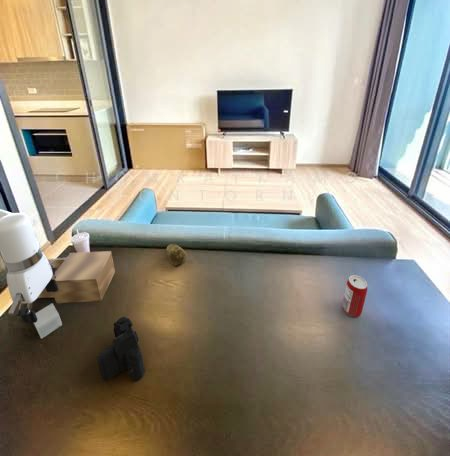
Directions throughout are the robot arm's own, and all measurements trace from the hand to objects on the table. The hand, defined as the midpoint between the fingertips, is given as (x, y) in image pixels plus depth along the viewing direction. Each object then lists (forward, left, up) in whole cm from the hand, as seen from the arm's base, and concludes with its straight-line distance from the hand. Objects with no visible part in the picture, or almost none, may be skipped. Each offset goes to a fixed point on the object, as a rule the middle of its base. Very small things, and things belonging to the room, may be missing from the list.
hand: (42, 305), depth 72 cm
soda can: (+93, 0, -9) cm, 93 cm away
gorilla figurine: (+25, -11, -9) cm, 28 cm away
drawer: (-8, +14, -8) cm, 18 cm away
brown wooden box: (+5, +14, -9) cm, 17 cm away
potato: (+35, +24, -9) cm, 43 cm away
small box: (0, 0, -9) cm, 9 cm away
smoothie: (-3, +29, -9) cm, 31 cm away
